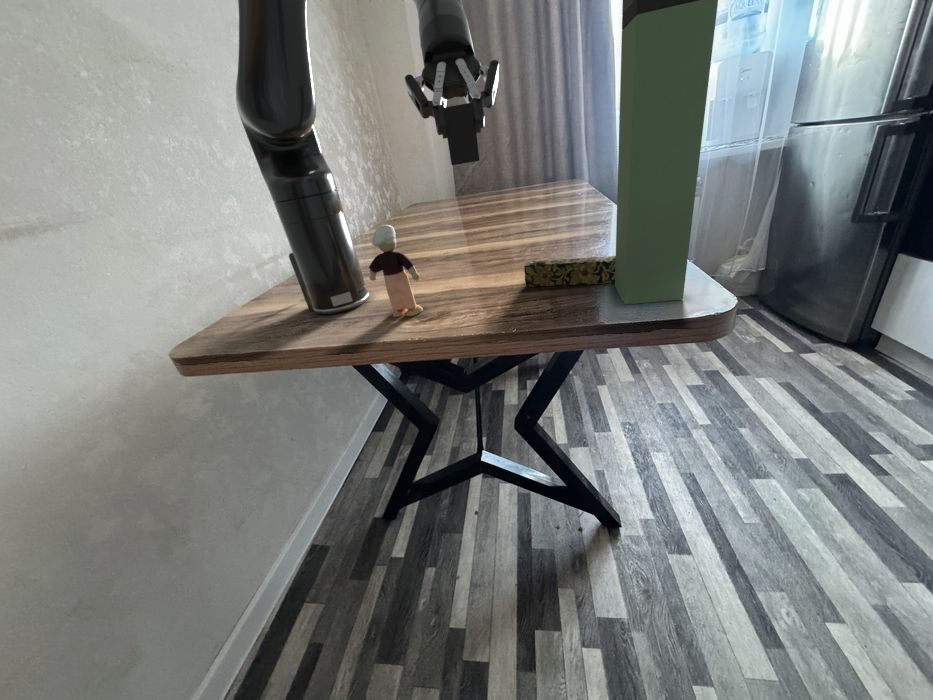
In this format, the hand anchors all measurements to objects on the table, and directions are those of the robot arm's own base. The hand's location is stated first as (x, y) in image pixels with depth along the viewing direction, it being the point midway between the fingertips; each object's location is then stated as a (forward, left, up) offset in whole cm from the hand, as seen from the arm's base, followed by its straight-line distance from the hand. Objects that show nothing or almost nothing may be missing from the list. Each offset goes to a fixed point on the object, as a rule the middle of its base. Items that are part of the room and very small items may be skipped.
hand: (461, 130), depth 52 cm
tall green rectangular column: (+24, -6, -22) cm, 33 cm away
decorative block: (+15, -1, -22) cm, 27 cm away
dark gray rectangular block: (-1, +2, -4) cm, 5 cm away
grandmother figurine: (-9, -11, -22) cm, 26 cm away
